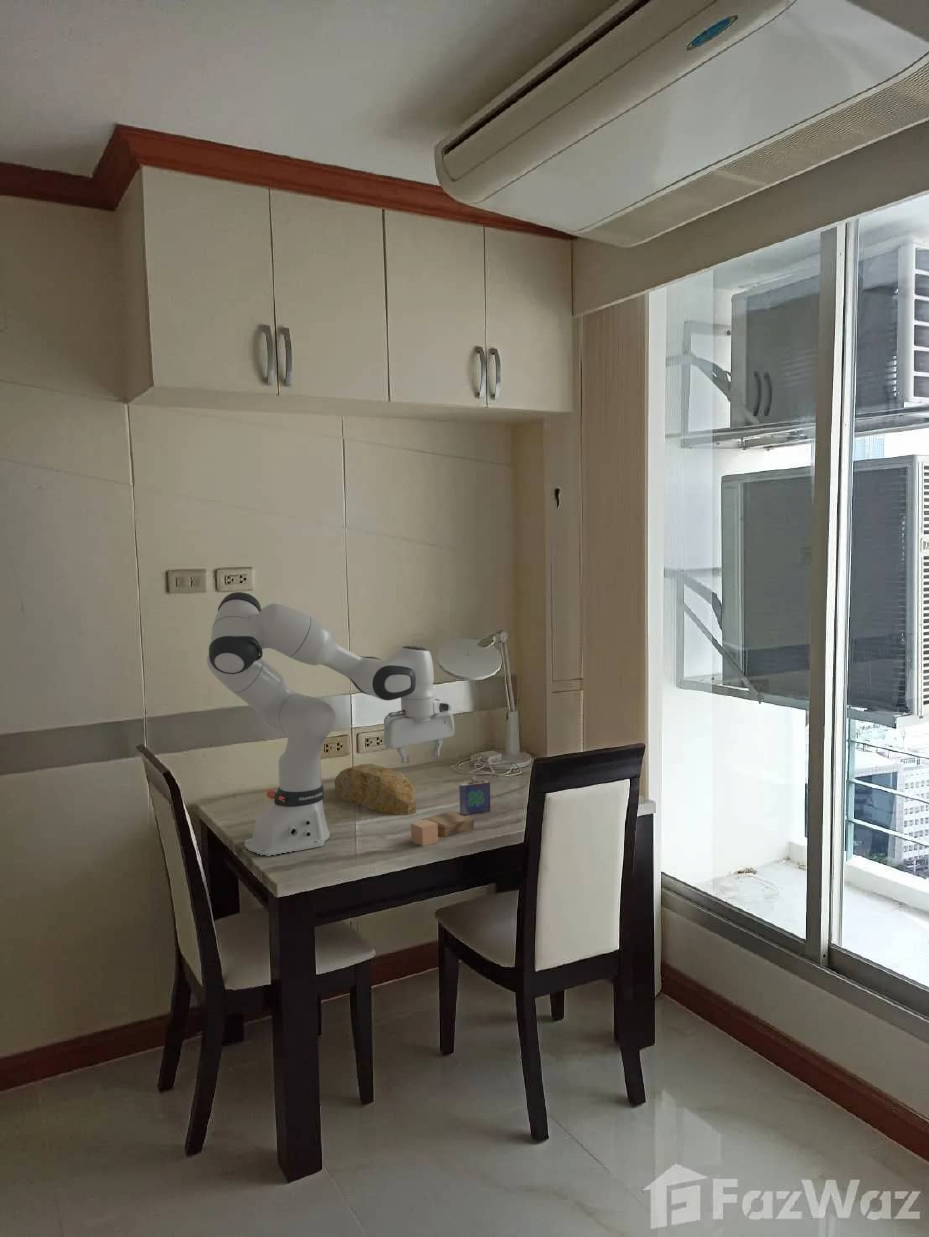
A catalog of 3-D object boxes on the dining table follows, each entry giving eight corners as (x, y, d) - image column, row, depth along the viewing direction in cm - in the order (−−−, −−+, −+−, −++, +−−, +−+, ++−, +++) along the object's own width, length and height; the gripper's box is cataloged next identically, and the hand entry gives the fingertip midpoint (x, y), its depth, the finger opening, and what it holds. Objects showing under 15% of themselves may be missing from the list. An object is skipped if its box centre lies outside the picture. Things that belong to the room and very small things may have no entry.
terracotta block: (422, 846, 239) (422, 827, 239) (411, 841, 243) (410, 823, 243) (438, 841, 242) (437, 823, 242) (426, 837, 246) (426, 819, 246)
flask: (461, 816, 263) (460, 779, 262) (458, 813, 266) (457, 777, 264) (491, 812, 266) (491, 776, 265) (488, 809, 268) (487, 773, 267)
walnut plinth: (445, 836, 246) (444, 827, 246) (422, 828, 254) (422, 818, 253) (473, 828, 252) (473, 818, 252) (450, 819, 260) (450, 810, 260)
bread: (426, 810, 270) (425, 776, 269) (397, 818, 263) (396, 784, 262) (354, 786, 297) (353, 756, 296) (326, 794, 289) (324, 762, 288)
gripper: (390, 715, 232) (393, 769, 234) (456, 703, 244) (458, 754, 246) (377, 711, 237) (380, 764, 239) (443, 700, 249) (445, 750, 251)
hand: (420, 759), depth 242 cm, fingers open, 8 cm apart
